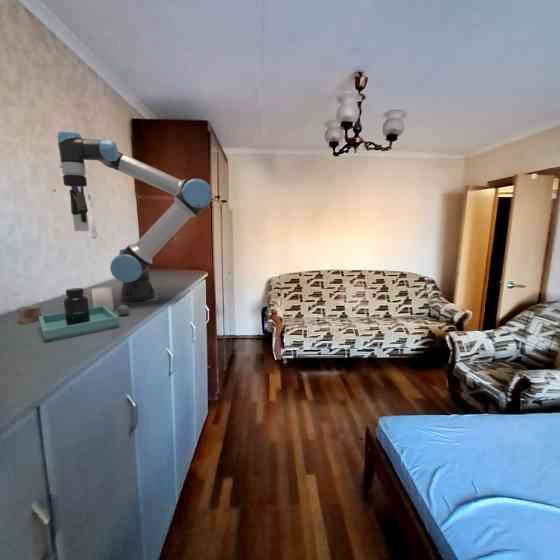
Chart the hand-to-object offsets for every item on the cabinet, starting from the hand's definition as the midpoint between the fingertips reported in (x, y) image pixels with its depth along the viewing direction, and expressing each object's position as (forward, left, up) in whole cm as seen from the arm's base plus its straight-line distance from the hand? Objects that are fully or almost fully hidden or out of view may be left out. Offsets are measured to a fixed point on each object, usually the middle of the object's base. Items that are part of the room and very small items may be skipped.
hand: (81, 231), depth 121 cm
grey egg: (-7, +21, -32) cm, 39 cm away
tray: (+8, +25, -32) cm, 41 cm away
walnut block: (+20, +5, -32) cm, 38 cm away
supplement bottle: (+8, +25, -31) cm, 41 cm away
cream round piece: (-3, +8, -32) cm, 33 cm away
